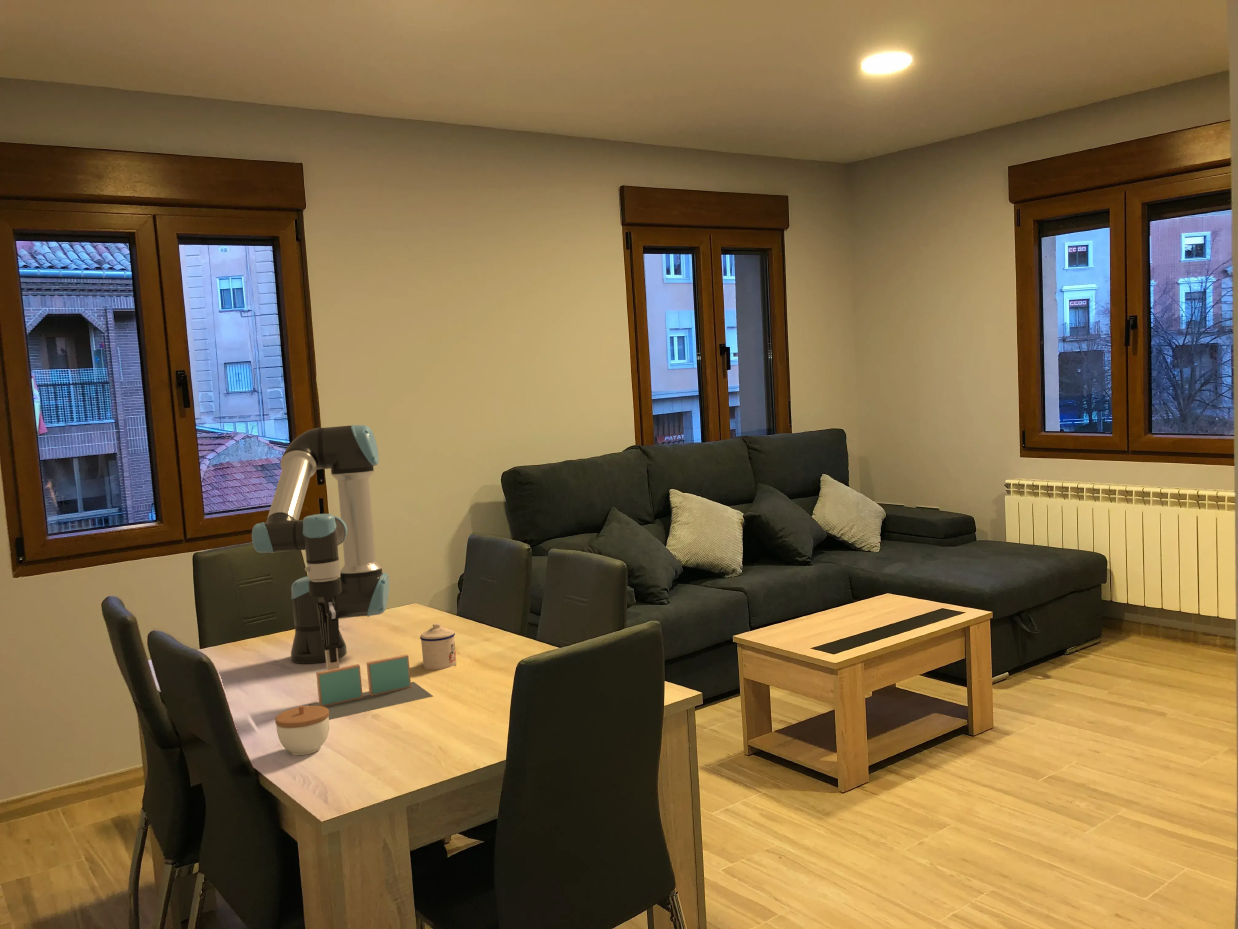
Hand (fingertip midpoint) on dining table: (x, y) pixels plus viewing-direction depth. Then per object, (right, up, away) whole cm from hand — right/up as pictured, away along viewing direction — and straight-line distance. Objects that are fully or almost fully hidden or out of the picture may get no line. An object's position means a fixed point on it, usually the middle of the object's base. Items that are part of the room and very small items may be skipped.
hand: (333, 674), depth 242 cm
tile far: (+13, -4, +2) cm, 14 cm away
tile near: (+3, -6, -4) cm, 8 cm away
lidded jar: (+4, -9, -33) cm, 35 cm away
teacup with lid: (+22, -3, +24) cm, 32 cm away
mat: (+10, -6, -4) cm, 13 cm away
